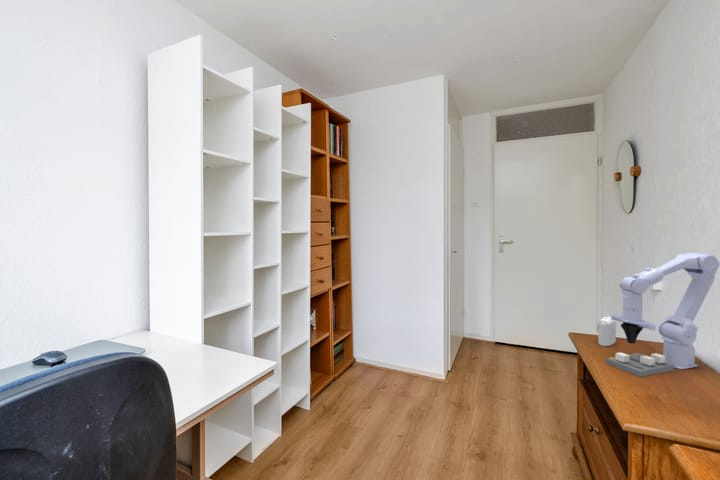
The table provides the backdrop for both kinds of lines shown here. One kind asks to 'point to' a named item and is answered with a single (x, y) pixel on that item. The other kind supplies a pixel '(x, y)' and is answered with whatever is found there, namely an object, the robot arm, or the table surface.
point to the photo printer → (607, 331)
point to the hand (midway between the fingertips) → (631, 342)
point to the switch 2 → (658, 358)
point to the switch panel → (639, 366)
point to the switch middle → (647, 360)
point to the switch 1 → (622, 357)
